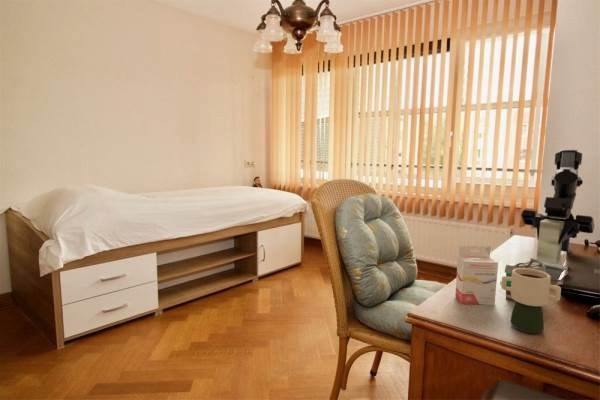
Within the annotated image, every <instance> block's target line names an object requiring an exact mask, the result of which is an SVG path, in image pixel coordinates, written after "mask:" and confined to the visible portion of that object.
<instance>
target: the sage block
mask: <svg viewBox="0 0 600 400" xmlns="http://www.w3.org/2000/svg"><path fill="white" fill-rule="evenodd" d="M563 229H564V221H556V220H549V219H545V220H542V221H540V230H539V239H537V251H536V257H535V259H536V260H538V261H541V262H546V263H550V264H556V263H558V262H559V261H560V254H561V246H562V243H561V244H558V241H559V238H560V235H561V233H562V231H563Z"/></svg>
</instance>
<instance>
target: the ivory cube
mask: <svg viewBox="0 0 600 400" xmlns="http://www.w3.org/2000/svg"><path fill="white" fill-rule="evenodd" d="M565 260H566V261H567V252H565V251H561V254H560V261H559V262H558V263H556V264H557V265H562V266H563V264H564V262H565Z"/></svg>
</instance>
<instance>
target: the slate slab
mask: <svg viewBox="0 0 600 400" xmlns="http://www.w3.org/2000/svg"><path fill="white" fill-rule="evenodd" d="M542 263H543V264H544V266H545V269H546V273H547V274H549V275H550V277H551V281H552V280H553V281H557V282H559V281H558V279H559V277H560V275H561V273H562V272H563V271H564V270H566V268H567V267H568V266H567V265H565V266H562V265H557V264H550V263H546V262H542ZM566 266H567V267H566Z"/></svg>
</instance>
